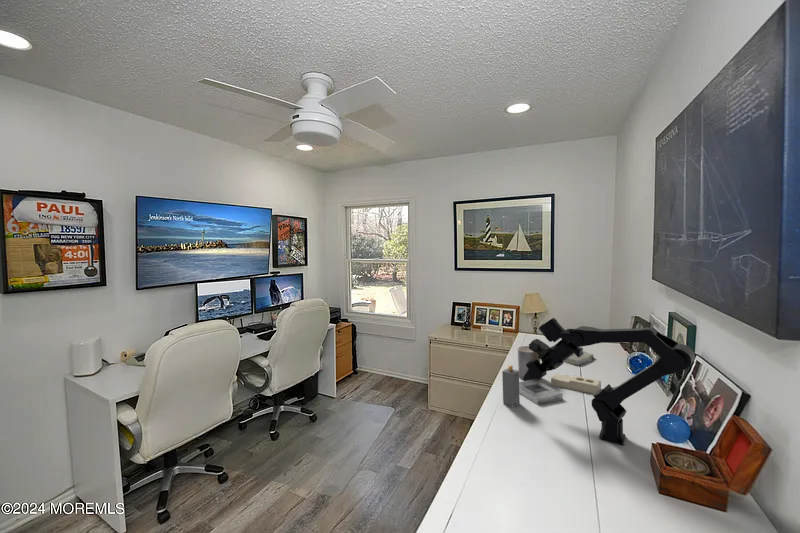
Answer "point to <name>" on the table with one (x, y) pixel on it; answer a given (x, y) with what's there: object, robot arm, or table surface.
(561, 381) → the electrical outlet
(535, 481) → the table surface
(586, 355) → the fossil
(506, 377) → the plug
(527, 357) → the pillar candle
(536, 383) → the socket plate
